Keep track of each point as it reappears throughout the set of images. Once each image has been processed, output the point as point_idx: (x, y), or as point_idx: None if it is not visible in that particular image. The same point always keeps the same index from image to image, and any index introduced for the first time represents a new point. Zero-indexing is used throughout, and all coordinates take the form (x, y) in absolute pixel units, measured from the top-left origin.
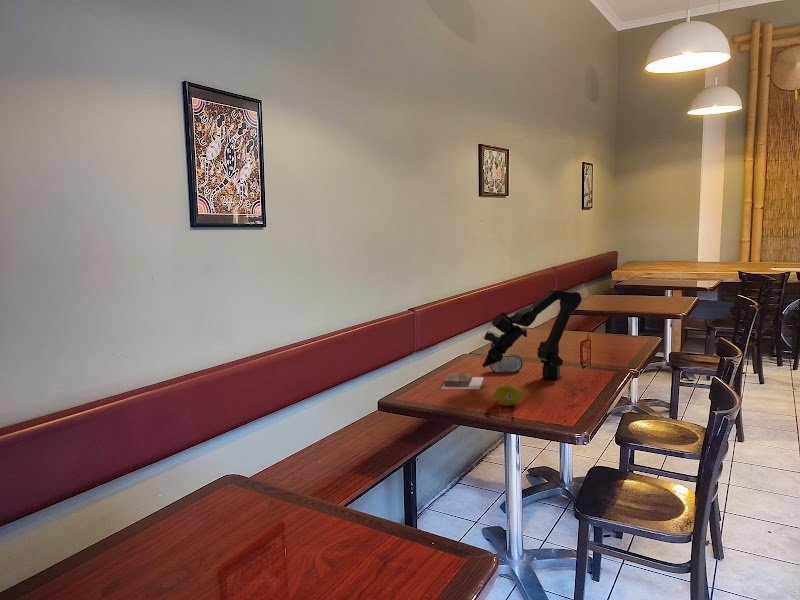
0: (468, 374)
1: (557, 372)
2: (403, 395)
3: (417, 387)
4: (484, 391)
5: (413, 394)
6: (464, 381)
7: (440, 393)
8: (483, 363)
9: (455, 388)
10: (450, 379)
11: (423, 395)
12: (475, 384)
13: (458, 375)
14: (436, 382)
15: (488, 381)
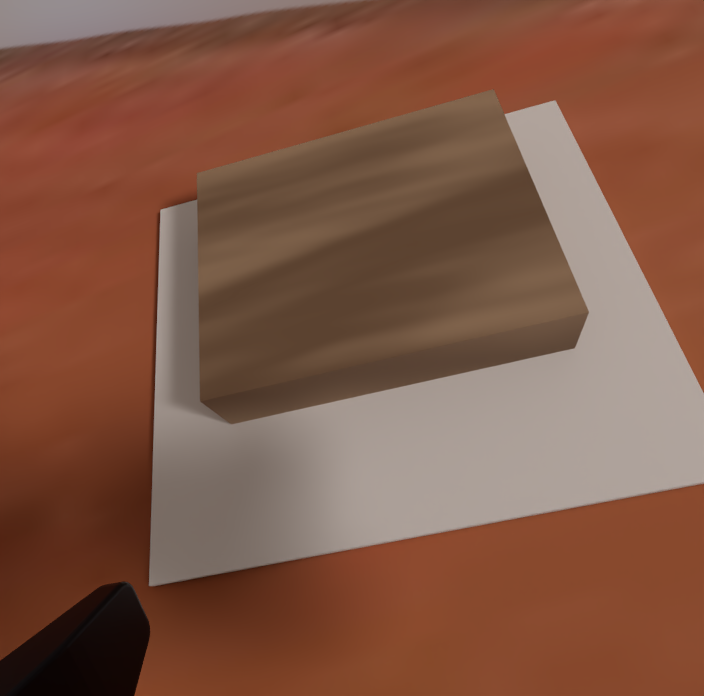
0: (528, 286)
1: None
2: (19, 87)
3: (198, 65)
4: None
5: (35, 121)
6: (202, 357)
7: (45, 262)
8: (28, 642)
9: (161, 321)
10: (251, 198)
11: (6, 182)
12: (338, 472)
13: (436, 201)
14: (358, 103)
15: (582, 605)
